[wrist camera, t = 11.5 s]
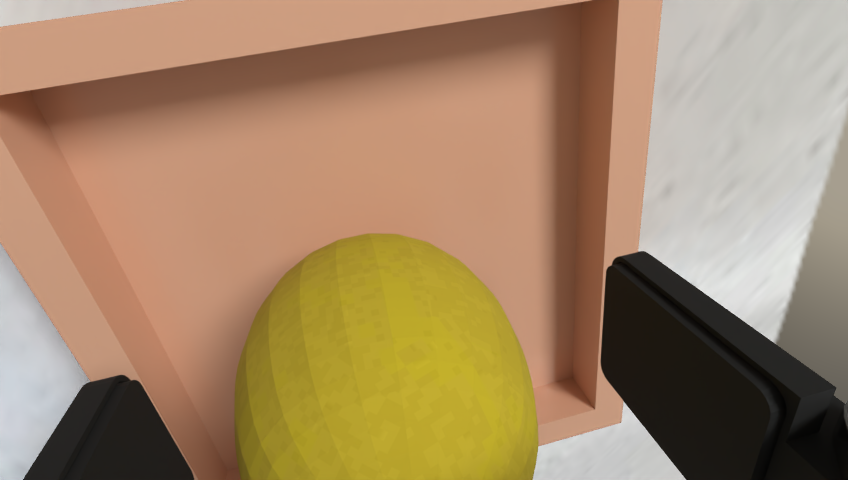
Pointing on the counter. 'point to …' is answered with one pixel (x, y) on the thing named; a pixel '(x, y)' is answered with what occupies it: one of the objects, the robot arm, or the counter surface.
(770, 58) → the counter surface
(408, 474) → the lemon
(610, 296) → the robot arm
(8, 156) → the dish
